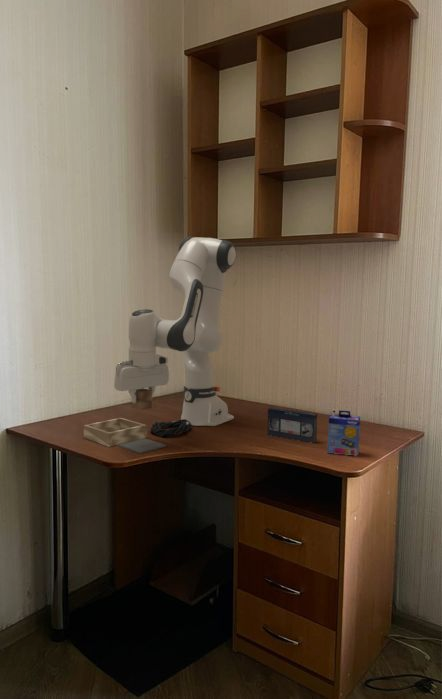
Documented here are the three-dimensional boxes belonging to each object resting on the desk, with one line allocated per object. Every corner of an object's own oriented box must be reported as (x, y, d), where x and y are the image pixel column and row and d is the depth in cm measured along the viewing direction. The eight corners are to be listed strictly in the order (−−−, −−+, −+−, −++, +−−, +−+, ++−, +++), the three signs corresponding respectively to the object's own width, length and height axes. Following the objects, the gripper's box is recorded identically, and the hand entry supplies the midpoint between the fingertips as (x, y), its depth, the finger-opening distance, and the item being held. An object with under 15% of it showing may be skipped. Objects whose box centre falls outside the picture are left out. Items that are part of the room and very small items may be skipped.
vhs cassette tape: (266, 435, 198) (267, 408, 197) (271, 433, 200) (271, 407, 199) (313, 444, 188) (314, 415, 186) (316, 442, 190) (317, 414, 189)
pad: (144, 440, 189) (144, 438, 189) (165, 446, 182) (165, 444, 182) (118, 446, 181) (118, 444, 181) (139, 453, 174) (139, 451, 174)
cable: (179, 440, 191) (179, 428, 190) (142, 437, 195) (142, 425, 194) (194, 428, 207) (194, 417, 207) (160, 425, 211) (160, 414, 211)
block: (143, 405, 183) (143, 388, 183) (151, 408, 180) (151, 390, 180) (132, 407, 180) (132, 389, 179) (140, 410, 177) (141, 391, 176)
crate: (121, 429, 203) (121, 417, 202) (146, 437, 193) (146, 425, 192) (83, 437, 191) (83, 425, 191) (109, 446, 181) (109, 433, 180)
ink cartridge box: (326, 454, 176) (328, 410, 175) (328, 449, 182) (330, 406, 180) (358, 457, 174) (360, 412, 172) (359, 452, 179) (360, 408, 177)
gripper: (122, 363, 169) (122, 407, 170) (171, 358, 184) (171, 398, 185) (110, 361, 173) (110, 404, 174) (159, 356, 188) (159, 395, 189)
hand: (142, 401), depth 180 cm, fingers closed on block, 4 cm apart
